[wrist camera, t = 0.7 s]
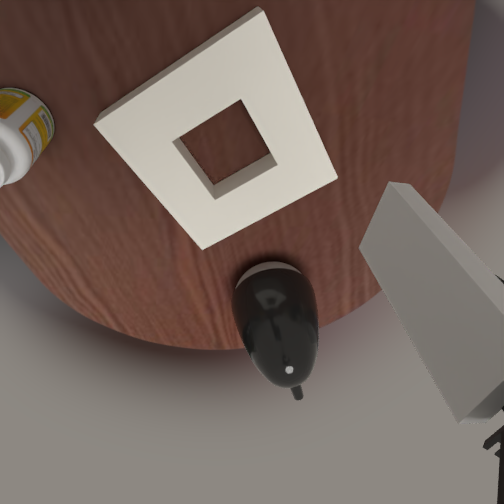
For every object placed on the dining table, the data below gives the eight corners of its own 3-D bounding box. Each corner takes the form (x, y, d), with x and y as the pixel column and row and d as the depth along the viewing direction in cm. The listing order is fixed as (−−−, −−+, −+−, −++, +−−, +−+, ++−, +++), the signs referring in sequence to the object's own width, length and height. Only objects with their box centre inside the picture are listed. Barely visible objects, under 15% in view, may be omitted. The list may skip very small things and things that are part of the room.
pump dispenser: (242, 315, 52) (256, 420, 40) (218, 262, 45) (227, 370, 34) (312, 295, 51) (347, 396, 39) (298, 238, 44) (336, 340, 33)
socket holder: (100, 112, 33) (93, 124, 30) (257, 6, 29) (263, 10, 27) (201, 233, 42) (202, 250, 40) (329, 164, 39) (338, 178, 36)
